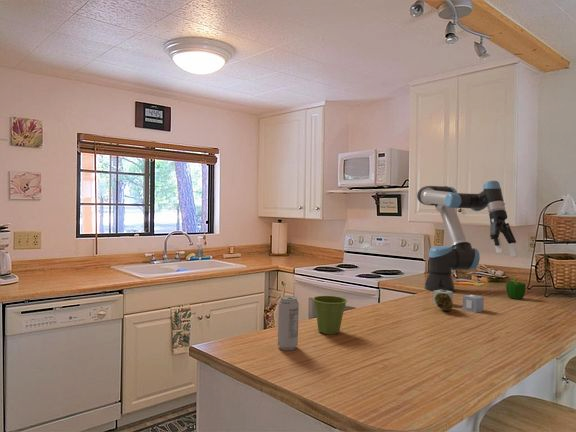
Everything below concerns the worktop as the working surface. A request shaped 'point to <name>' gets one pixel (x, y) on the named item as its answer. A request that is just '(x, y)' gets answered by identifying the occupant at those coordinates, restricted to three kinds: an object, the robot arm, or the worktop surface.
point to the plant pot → (329, 313)
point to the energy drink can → (288, 323)
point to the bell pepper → (515, 289)
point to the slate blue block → (473, 303)
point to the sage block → (442, 292)
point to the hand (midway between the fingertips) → (507, 254)
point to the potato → (443, 301)
